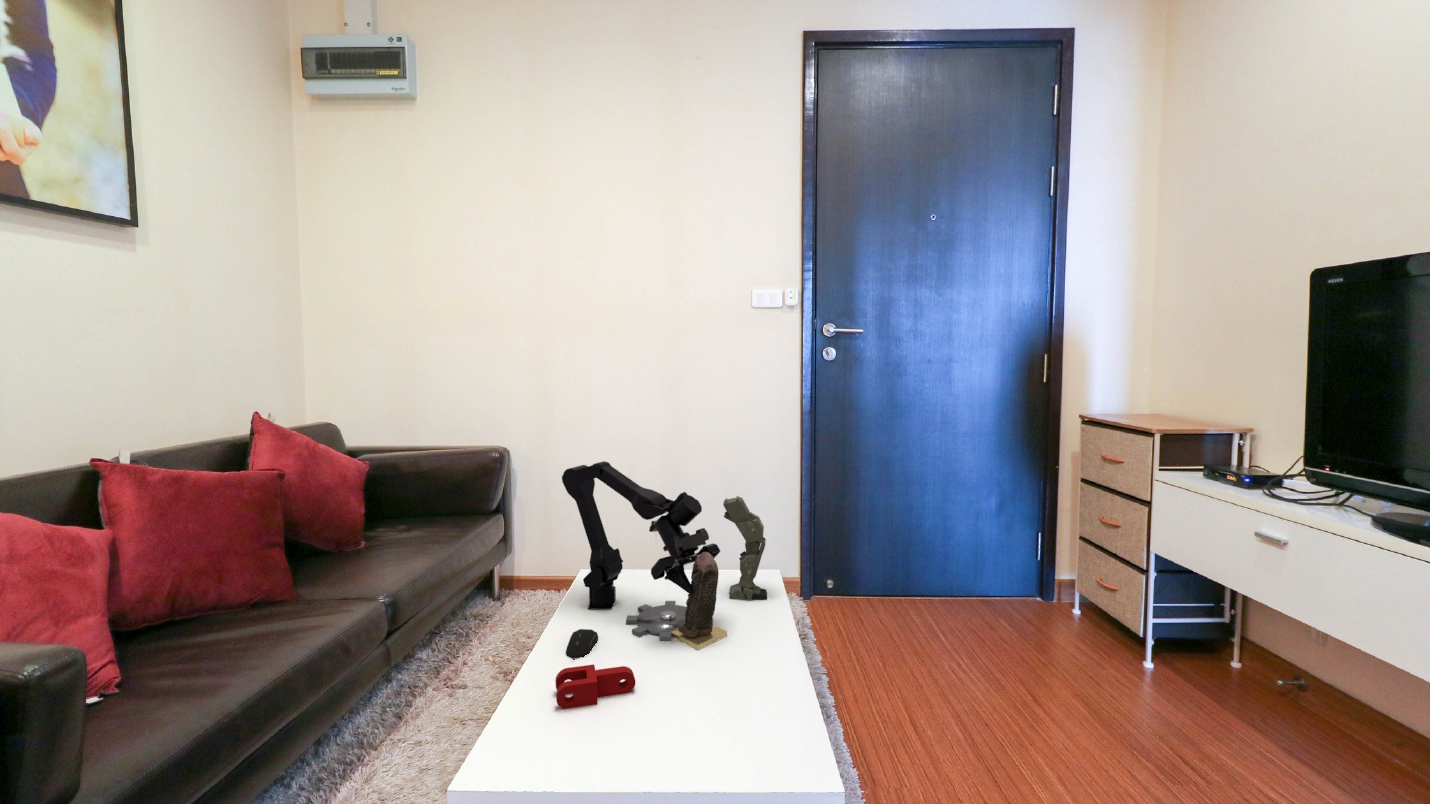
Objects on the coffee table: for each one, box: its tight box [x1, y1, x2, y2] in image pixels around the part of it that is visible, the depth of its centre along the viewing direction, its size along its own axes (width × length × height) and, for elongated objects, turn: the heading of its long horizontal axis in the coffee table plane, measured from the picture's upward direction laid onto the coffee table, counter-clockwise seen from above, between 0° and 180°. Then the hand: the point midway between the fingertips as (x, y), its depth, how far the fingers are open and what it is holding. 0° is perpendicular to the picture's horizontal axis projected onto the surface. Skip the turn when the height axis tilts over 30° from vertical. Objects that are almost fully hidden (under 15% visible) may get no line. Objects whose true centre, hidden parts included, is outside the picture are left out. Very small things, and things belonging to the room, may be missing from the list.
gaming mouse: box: [565, 628, 599, 661], centre depth 150 cm, size 6×15×4 cm, turn 175°
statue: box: [678, 552, 719, 637], centre depth 155 cm, size 7×7×20 cm
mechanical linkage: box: [555, 664, 636, 710], centre depth 130 cm, size 16×7×5 cm, turn 105°
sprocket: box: [625, 600, 728, 650], centre depth 162 cm, size 27×21×2 cm
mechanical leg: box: [723, 496, 768, 601], centre depth 180 cm, size 14×7×30 cm, turn 84°
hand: (702, 591), depth 154 cm, fingers closed on statue, 6 cm apart
